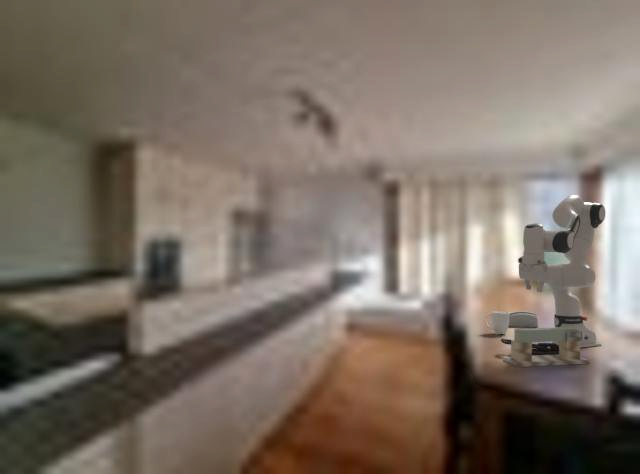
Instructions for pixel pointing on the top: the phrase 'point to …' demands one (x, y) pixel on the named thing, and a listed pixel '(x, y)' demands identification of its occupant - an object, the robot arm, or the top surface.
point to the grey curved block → (523, 319)
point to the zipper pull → (540, 348)
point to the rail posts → (566, 356)
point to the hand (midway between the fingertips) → (534, 290)
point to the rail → (542, 334)
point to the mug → (499, 321)
